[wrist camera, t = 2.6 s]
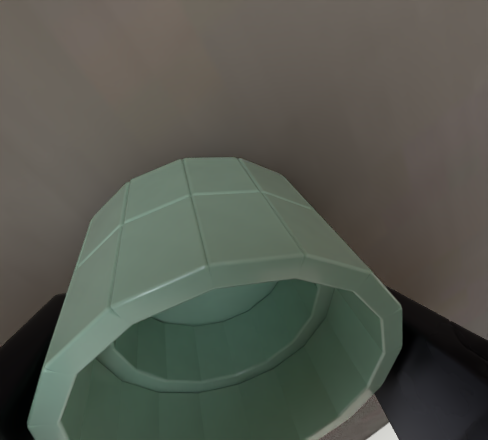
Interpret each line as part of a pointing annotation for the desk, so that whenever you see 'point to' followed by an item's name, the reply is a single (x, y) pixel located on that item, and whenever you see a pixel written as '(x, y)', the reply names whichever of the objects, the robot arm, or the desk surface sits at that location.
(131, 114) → the desk surface
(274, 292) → the bowl
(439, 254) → the desk surface
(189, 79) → the desk surface
